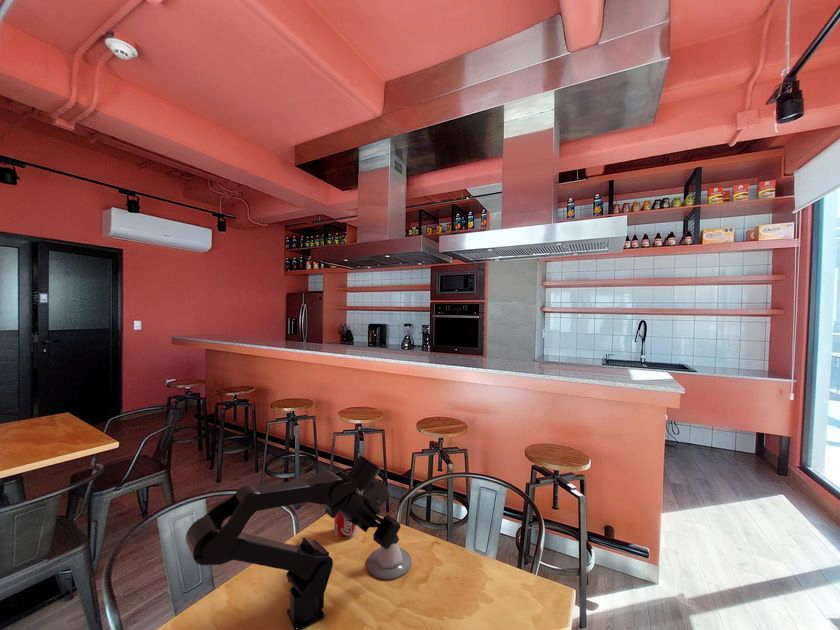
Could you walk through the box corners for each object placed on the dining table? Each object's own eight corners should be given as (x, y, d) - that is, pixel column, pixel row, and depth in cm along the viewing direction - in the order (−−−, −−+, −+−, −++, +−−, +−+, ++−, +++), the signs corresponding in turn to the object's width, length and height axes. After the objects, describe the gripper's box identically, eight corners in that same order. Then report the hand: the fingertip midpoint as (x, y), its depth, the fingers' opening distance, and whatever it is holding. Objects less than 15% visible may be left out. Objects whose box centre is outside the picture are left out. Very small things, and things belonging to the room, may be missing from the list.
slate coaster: (381, 587, 85) (381, 583, 85) (359, 559, 95) (359, 557, 95) (420, 567, 92) (420, 564, 93) (395, 543, 102) (395, 540, 102)
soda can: (362, 531, 107) (362, 493, 108) (345, 544, 101) (346, 503, 102) (345, 524, 111) (346, 487, 111) (329, 535, 105) (330, 496, 105)
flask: (398, 549, 98) (398, 513, 99) (406, 565, 92) (407, 528, 92) (373, 554, 96) (374, 518, 96) (380, 572, 89) (381, 533, 89)
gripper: (395, 489, 83) (426, 518, 90) (352, 465, 96) (382, 492, 104) (368, 535, 77) (403, 562, 85) (326, 503, 91) (360, 529, 98)
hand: (386, 533), depth 93 cm, fingers open, 9 cm apart
